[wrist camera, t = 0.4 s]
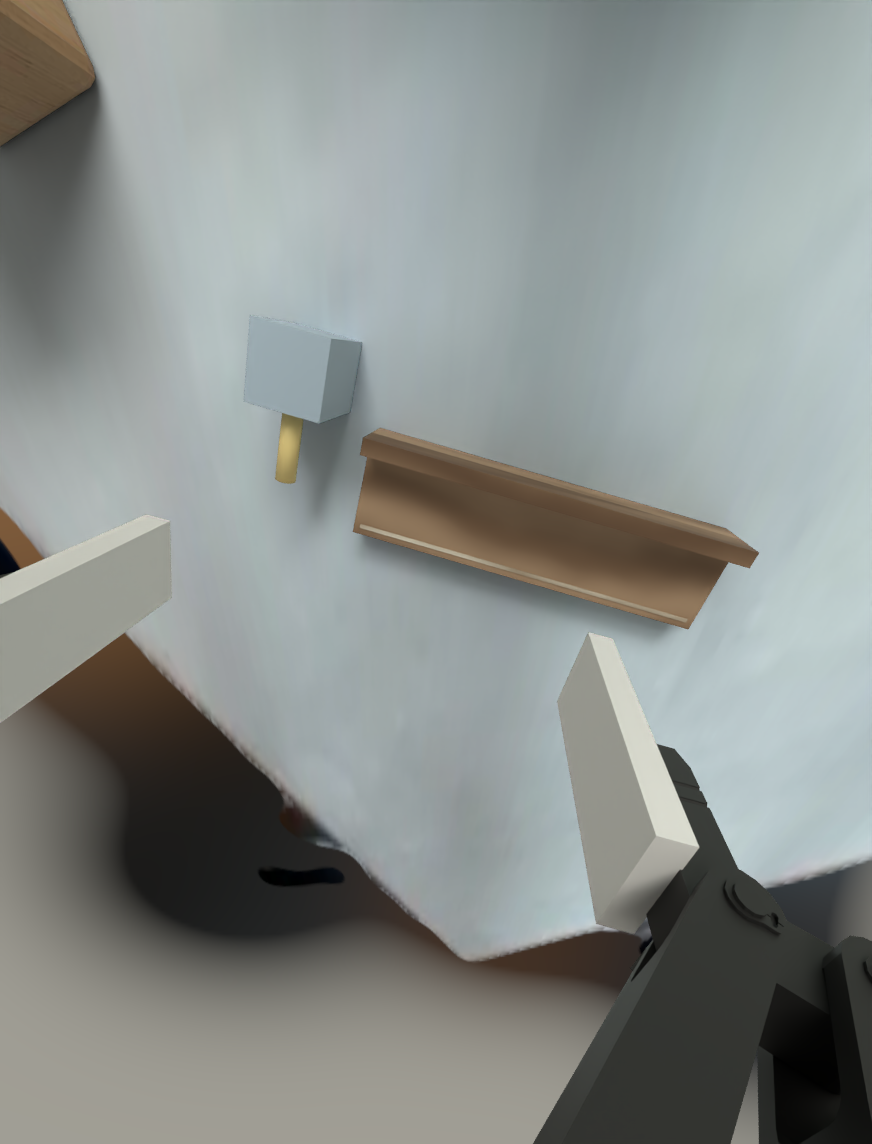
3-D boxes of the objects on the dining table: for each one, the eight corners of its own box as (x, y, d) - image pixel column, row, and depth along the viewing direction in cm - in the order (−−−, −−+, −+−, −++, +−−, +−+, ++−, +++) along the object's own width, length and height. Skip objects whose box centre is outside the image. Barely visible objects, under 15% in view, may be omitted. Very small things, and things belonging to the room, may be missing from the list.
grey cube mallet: (296, 323, 34) (249, 314, 27) (362, 342, 34) (331, 338, 27) (281, 456, 38) (238, 476, 32) (339, 474, 38) (308, 497, 32)
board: (380, 427, 36) (363, 437, 32) (726, 528, 36) (759, 552, 32) (361, 522, 39) (343, 543, 35) (677, 613, 40) (700, 646, 35)
